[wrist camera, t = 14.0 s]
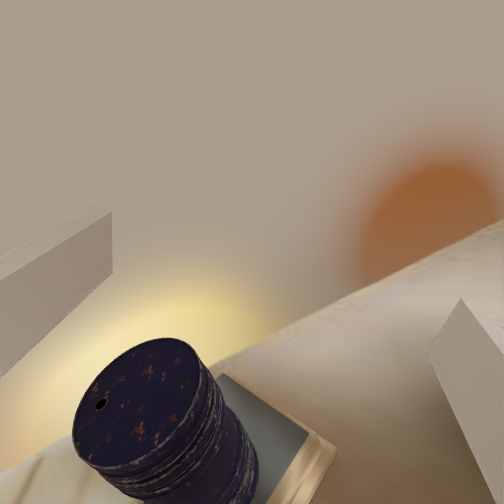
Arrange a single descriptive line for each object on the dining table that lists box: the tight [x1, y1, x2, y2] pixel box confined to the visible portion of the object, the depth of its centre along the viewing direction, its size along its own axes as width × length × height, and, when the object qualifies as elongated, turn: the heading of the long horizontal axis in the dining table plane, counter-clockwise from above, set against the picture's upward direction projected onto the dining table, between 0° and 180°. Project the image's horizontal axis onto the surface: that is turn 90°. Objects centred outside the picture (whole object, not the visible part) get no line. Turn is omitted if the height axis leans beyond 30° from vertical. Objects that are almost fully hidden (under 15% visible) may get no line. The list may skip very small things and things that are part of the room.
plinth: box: [215, 370, 337, 504], centre depth 34 cm, size 16×16×5 cm
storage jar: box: [72, 338, 259, 504], centre depth 27 cm, size 10×10×15 cm
